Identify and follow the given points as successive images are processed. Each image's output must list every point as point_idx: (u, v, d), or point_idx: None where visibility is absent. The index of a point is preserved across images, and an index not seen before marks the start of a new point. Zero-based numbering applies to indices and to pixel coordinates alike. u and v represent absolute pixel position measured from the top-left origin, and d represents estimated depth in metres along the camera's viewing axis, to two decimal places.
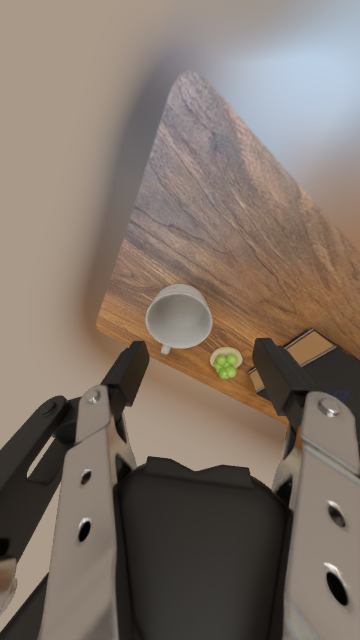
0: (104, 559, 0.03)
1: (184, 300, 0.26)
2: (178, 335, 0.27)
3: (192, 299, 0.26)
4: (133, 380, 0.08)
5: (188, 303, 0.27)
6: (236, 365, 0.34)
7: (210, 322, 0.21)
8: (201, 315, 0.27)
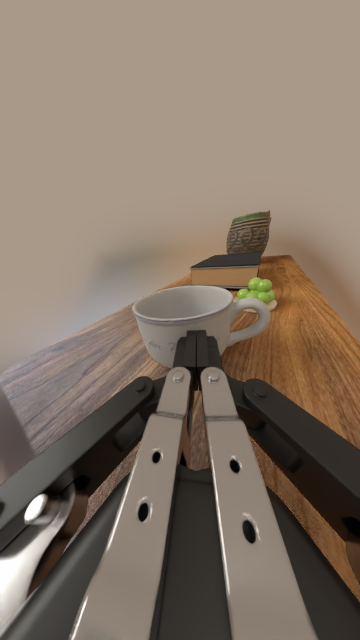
0: (148, 571, 0.02)
1: None
2: None
3: None
4: None
5: None
6: None
7: (177, 288, 0.19)
8: None
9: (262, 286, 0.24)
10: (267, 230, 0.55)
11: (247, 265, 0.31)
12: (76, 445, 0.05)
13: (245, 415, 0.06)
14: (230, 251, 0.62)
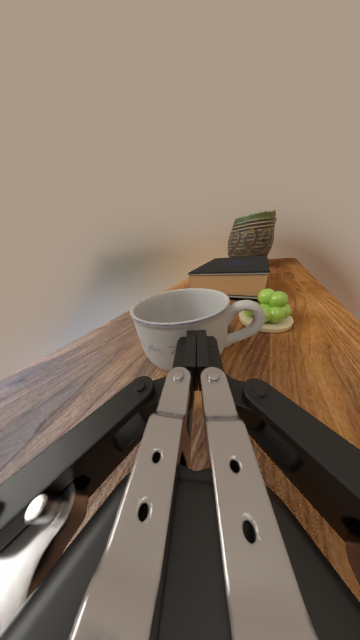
0: (148, 570, 0.02)
1: None
2: None
3: None
4: None
5: None
6: None
7: (173, 291, 0.19)
8: None
9: (276, 300, 0.20)
10: (272, 231, 0.51)
11: (255, 272, 0.27)
12: (76, 445, 0.05)
13: (245, 415, 0.06)
14: (232, 254, 0.58)
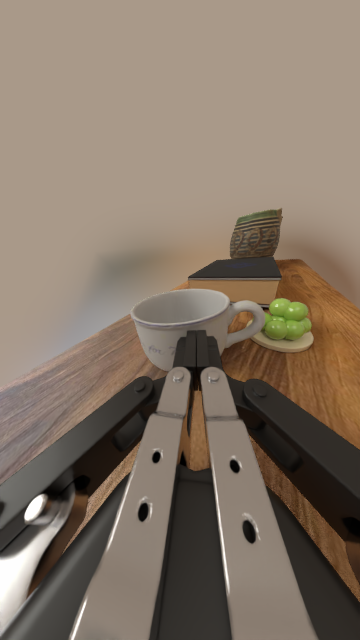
0: (148, 571, 0.02)
1: None
2: None
3: None
4: None
5: None
6: None
7: (173, 291, 0.19)
8: None
9: (294, 313, 0.16)
10: (278, 231, 0.47)
11: (264, 277, 0.23)
12: (76, 445, 0.05)
13: (245, 415, 0.06)
14: (234, 255, 0.55)
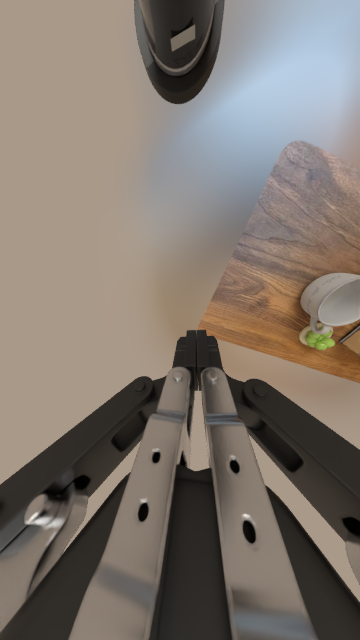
0: (148, 571, 0.02)
1: None
2: (328, 316, 0.31)
3: None
4: None
5: None
6: (327, 337, 0.39)
7: None
8: (343, 294, 0.31)
9: (318, 344, 0.36)
10: None
11: None
12: (76, 445, 0.05)
13: (245, 415, 0.06)
14: None
